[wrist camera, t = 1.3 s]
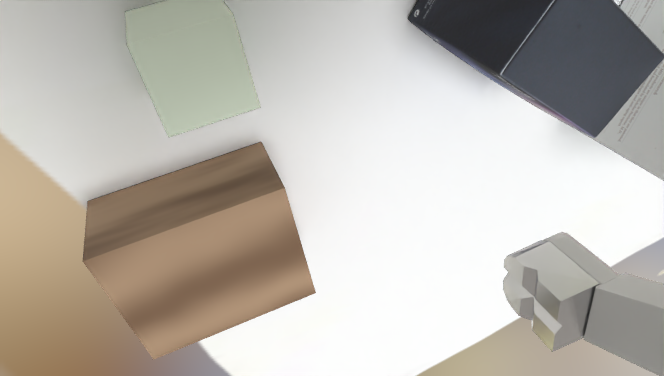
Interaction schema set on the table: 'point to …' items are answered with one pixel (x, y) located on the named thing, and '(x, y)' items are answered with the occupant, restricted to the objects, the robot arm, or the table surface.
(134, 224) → the walnut block
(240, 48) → the sage block
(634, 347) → the robot arm
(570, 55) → the small box
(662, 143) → the supplement box
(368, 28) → the table surface
